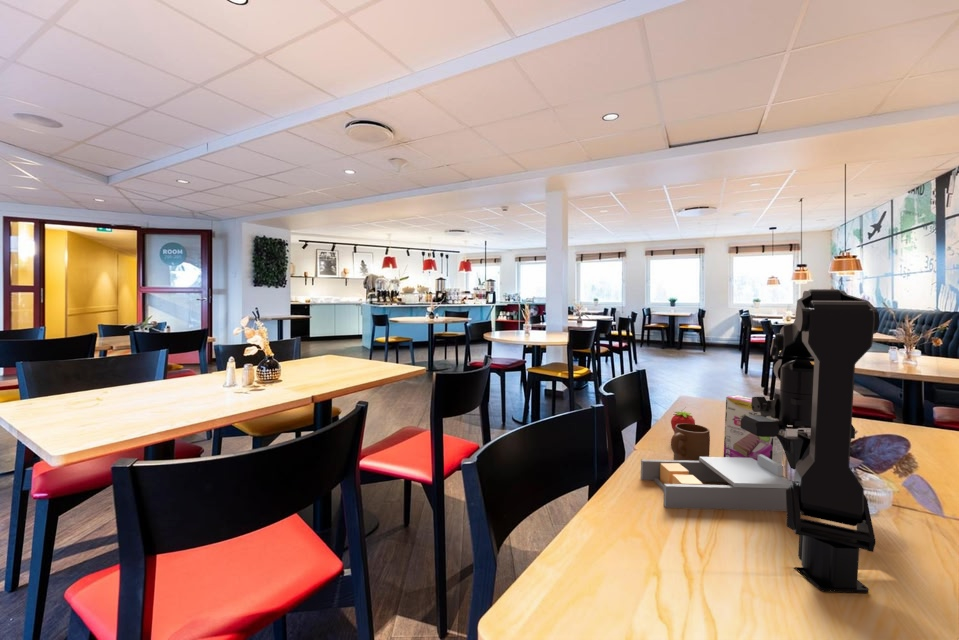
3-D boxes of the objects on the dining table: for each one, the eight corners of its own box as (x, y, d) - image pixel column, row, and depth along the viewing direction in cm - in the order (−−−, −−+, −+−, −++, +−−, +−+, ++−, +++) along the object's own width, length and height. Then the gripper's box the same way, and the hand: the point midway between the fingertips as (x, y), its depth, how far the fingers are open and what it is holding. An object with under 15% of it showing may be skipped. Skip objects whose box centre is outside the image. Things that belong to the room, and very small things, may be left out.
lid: (795, 488, 75) (796, 473, 75) (734, 487, 75) (734, 472, 75) (751, 461, 88) (752, 448, 88) (699, 460, 88) (699, 447, 88)
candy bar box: (722, 461, 101) (724, 396, 100) (734, 458, 103) (736, 394, 102) (771, 479, 91) (774, 407, 90) (783, 475, 93) (786, 404, 92)
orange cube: (688, 490, 83) (688, 471, 83) (668, 490, 83) (669, 471, 83) (678, 481, 87) (679, 463, 87) (659, 481, 87) (660, 463, 87)
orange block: (702, 504, 77) (703, 483, 77) (681, 503, 78) (681, 483, 77) (692, 494, 81) (692, 474, 81) (671, 493, 82) (672, 474, 81)
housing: (794, 515, 75) (795, 489, 75) (665, 512, 76) (666, 486, 76) (750, 484, 88) (751, 461, 88) (640, 481, 89) (641, 459, 89)
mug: (688, 480, 90) (689, 438, 90) (656, 468, 96) (657, 429, 96) (714, 468, 97) (716, 429, 96) (683, 457, 103) (685, 421, 103)
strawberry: (698, 441, 115) (700, 406, 115) (687, 447, 111) (688, 410, 110) (677, 435, 120) (678, 402, 119) (665, 441, 115) (666, 406, 115)
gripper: (813, 384, 88) (810, 454, 89) (726, 382, 89) (723, 452, 90) (859, 396, 77) (855, 476, 78) (760, 394, 78) (756, 474, 79)
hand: (794, 468), depth 81 cm, fingers closed
